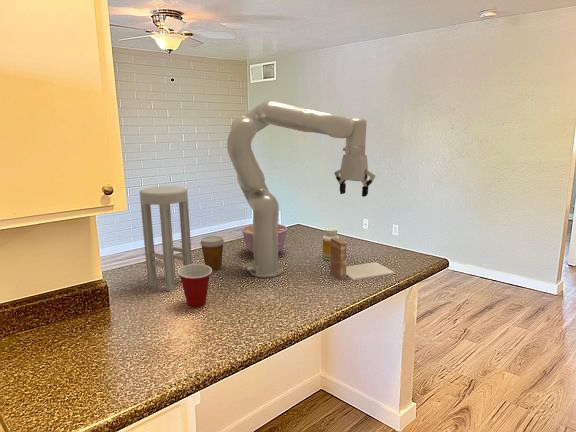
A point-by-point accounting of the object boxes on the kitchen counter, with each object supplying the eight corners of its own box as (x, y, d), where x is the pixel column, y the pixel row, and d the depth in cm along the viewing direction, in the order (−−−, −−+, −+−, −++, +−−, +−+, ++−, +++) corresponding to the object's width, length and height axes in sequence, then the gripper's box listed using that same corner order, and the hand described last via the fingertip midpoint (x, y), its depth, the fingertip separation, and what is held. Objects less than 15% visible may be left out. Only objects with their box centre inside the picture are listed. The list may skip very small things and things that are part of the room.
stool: (171, 273, 166) (164, 184, 158) (201, 280, 159) (195, 187, 151) (139, 286, 153) (130, 190, 146) (170, 294, 146) (162, 194, 138)
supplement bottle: (339, 260, 178) (340, 231, 176) (322, 260, 179) (323, 231, 176) (338, 255, 185) (338, 227, 183) (321, 255, 186) (322, 227, 183)
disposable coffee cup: (227, 263, 176) (226, 235, 174) (222, 271, 167) (220, 242, 164) (205, 263, 177) (203, 235, 175) (198, 271, 168) (196, 242, 165)
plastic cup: (193, 314, 131) (191, 277, 128) (173, 305, 137) (170, 270, 135) (220, 303, 139) (219, 268, 136) (200, 294, 145) (198, 261, 143)
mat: (353, 280, 156) (353, 278, 156) (337, 269, 168) (337, 267, 168) (394, 273, 163) (394, 272, 163) (376, 263, 175) (376, 262, 174)
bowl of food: (236, 250, 194) (235, 226, 191) (276, 244, 202) (276, 221, 199) (251, 263, 176) (251, 236, 174) (295, 256, 184) (295, 231, 182)
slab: (339, 279, 157) (340, 243, 154) (330, 272, 165) (330, 238, 161) (345, 279, 158) (346, 242, 155) (336, 272, 165) (336, 237, 162)
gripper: (331, 150, 166) (329, 193, 169) (371, 152, 156) (369, 198, 159) (340, 149, 172) (339, 191, 175) (380, 151, 162) (377, 196, 165)
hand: (353, 194), depth 167 cm, fingers open, 9 cm apart
